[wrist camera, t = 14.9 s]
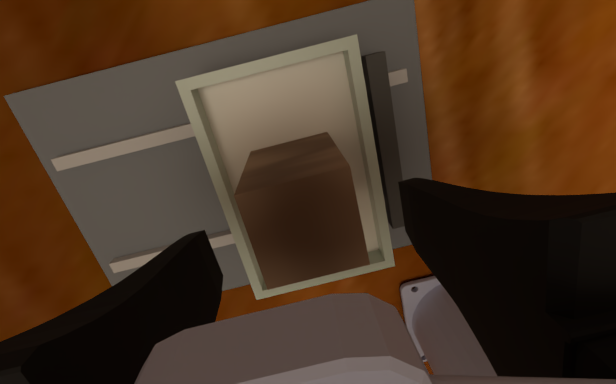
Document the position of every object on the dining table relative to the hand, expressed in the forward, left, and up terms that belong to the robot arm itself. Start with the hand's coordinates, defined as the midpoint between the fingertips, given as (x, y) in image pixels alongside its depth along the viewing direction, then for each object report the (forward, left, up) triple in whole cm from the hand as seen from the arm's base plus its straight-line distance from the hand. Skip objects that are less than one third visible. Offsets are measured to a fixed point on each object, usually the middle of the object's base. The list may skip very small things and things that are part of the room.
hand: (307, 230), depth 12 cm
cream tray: (0, 0, -8) cm, 8 cm away
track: (+3, 0, -9) cm, 10 cm away
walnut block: (0, 0, -6) cm, 6 cm away
